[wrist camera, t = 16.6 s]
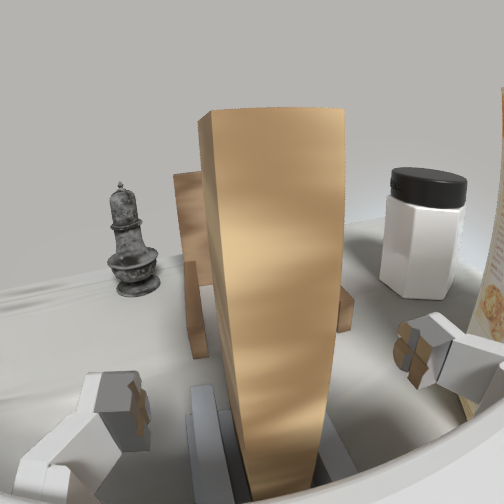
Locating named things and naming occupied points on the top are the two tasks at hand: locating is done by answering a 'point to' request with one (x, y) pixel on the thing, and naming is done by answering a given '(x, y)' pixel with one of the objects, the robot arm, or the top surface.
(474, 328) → the coffeecake box
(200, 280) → the walnut rack
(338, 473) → the slate holder
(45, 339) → the top surface
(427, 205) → the jar
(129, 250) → the salt shaker
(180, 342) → the top surface
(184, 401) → the top surface
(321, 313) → the wooden block
